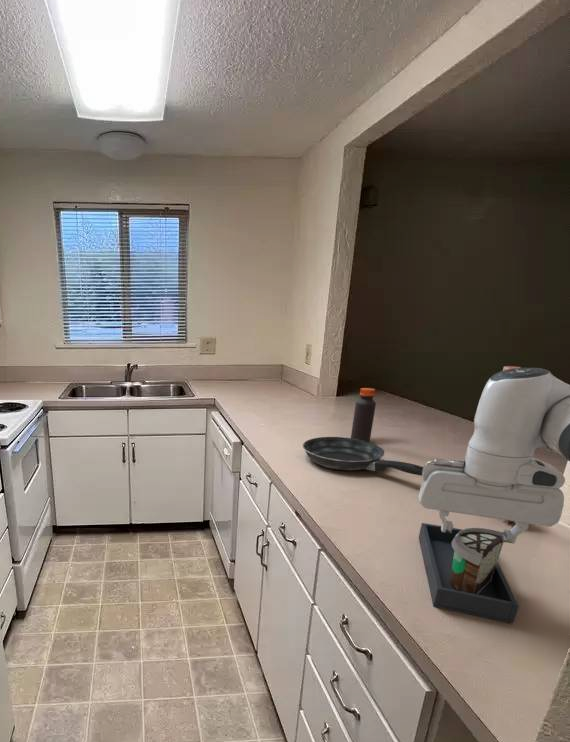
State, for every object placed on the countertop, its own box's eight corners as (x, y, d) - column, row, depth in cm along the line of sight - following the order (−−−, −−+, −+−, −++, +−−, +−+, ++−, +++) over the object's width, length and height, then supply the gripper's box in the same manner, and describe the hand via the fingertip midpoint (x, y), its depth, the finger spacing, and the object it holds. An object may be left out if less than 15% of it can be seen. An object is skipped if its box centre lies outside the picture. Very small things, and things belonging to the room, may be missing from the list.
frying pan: (285, 456, 150) (287, 438, 147) (337, 445, 160) (340, 427, 158) (400, 506, 113) (405, 483, 111) (458, 487, 124) (463, 465, 121)
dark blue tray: (479, 547, 94) (483, 532, 93) (513, 624, 72) (519, 605, 71) (418, 537, 99) (421, 522, 97) (433, 606, 77) (437, 588, 75)
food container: (458, 563, 88) (469, 520, 84) (493, 578, 83) (507, 532, 80) (430, 587, 81) (442, 540, 77) (468, 604, 76) (481, 555, 73)
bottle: (354, 444, 162) (362, 391, 155) (347, 438, 168) (354, 387, 161) (372, 444, 161) (381, 390, 154) (365, 438, 168) (373, 387, 161)
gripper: (427, 463, 75) (412, 533, 80) (578, 480, 67) (552, 557, 72) (423, 452, 80) (409, 518, 85) (562, 466, 72) (539, 538, 77)
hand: (476, 536), depth 78 cm, fingers open, 8 cm apart
